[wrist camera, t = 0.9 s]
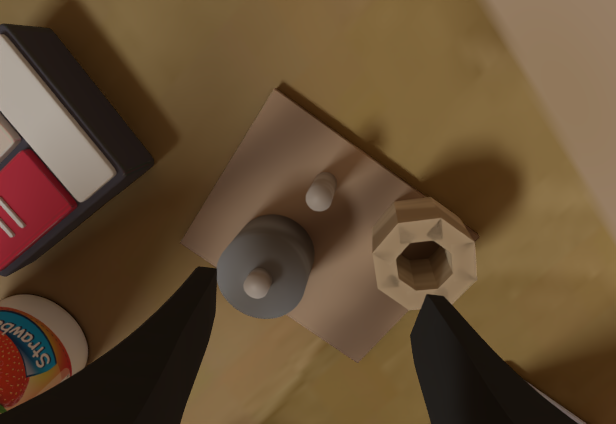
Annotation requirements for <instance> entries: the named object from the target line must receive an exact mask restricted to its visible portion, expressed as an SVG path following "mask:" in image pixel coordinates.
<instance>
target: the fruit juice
mask: <svg viewBox="0 0 616 424" xmlns="http://www.w3.org/2000/svg"><path fill="white" fill-rule="evenodd" d="M87 359H88V345H87V341H86V338H85V336H84V333H83V331H82V329H81V328H80V326H79V325H78V323H77V322H76V321H75V319H74V318H73V317H72V316H71V315H70V314H69V313H68V312H67V311H65V310H64V309H63V308H62V307H60V306H59V305H57V304H56V303H54V302H52V301H50V300H48V299H46V298H43V297H40V296H36V295H29V294H21V295H15V296H11V297H7V298H5V299H3V300H0V414H2V413H4V412H6V411H8V410H10V409H12V408H14V407H16V406H18V405H20V404H22V403H24V402H26V401H28V400H30V399H32V398H34V397H36V396H38V395H40V394H42V393H43V392H45V391H47V390H49V389H50V388H52V387H54V386H56V385H57V384H59V383H61V382H62V381H64V380H66V379H67V378H69V377H71V376H72V375H74V374H76V373H77V372H79V371H81V370H82V369H84V368H85V366H86V363H87Z"/></svg>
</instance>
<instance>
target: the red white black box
mask: <svg viewBox="0 0 616 424" xmlns="http://www.w3.org/2000/svg"><path fill="white" fill-rule="evenodd" d="M153 165H154V159H153V157H152V156H151V155H150V153H149V152H148V151H147V150H146V148H145V147H144V146H143V144H142V143H141V142H140V141H139V139H138V138H137V137H136V136H135V134H134V133H133V132H132V131H131V129H130V128H129V127H128V125H127V124H126V123H125V122H124V120H123V119H122V118H121V117H120V115H119V114H118V113H117V112H116V110H115V109H114V108H113V106H112V105H111V104H110V103H109V101H108V100H107V99H106V98H105V96H104V95H103V94H102V92H101V91H100V90H99V89H98V87H97V86H96V85H95V84H94V82H93V81H92V80H91V79H90V77H89V76H88V75H87V73H86V72H85V71H84V70H83V68H82V67H81V66H80V65H79V63H78V62H77V61H76V60H75V58H74V57H73V56H72V54H71V53H70V52H69V51H68V49H67V48H66V47H65V46H64V44H63V43H62V42H61V41H60V39H59V38H58V37H57V35H56V34H55V33H54V32H53V31H52V30H51V29H49V28H43V27H33V26H23V25H13V24H1V25H0V275H1V276H4V277H5V276H8V275H10V274H12V273H14V272H16V271H17V270H19V269H21V268H23V267H25V266H26V265H28V264H30V263H32V262H34V261H35V260H36V259H38V258H39V257H40V256H41V255H43V254H44V253H45V252H46V251H48V250H49V249H50V248H51V247H53V246H54V245H55V244H56V243H58V242H59V241H60V240H61V239H63V238H64V237H65V236H66V235H67V234H69V233H70V232H71V231H72V230H74V229H75V228H76V227H77V226H78V225H80V224H81V223H82V222H83V221H85V220H86V219H87V218H88V217H89V216H91V215H92V214H93V213H94V212H95V211H97V210H98V209H99V208H100V207H102V206H103V205H104V204H105V203H106V202H108V201H109V200H110V199H111V198H113V197H114V196H116V195H117V194H119V193H120V192H121V191H122V190H124V189H125V188H126V187H127V186H129V185H130V184H131V183H132V182H134V181H135V180H136V179H137V178H139V177H140V176H141V175H142V174H144V173H145V172H146V171H147V170H149V169H150V168H151V167H152V166H153Z"/></svg>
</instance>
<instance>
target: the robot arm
mask: <svg viewBox="0 0 616 424" xmlns="http://www.w3.org/2000/svg"><path fill="white" fill-rule="evenodd" d="M216 287H217V269H216V268H208V267H200V266H199V267H197V268H196V269H195V270H194V271H193V272H192V274H191V275H190V276H189V277H188V279H187V280H186V281H185V282H184V283H183V284H182V285H181V287H180V288H179V289H178V290H177V291H176V292H175V293H174V294H173V295H172V296H171V297H170V298H169V299H168V300H167V301H166V302H165V303H164V304H163V305H162V306H161V307H160V308H159V309H158V310H157V311H156V312H155V313H154V314H153V315H152V316H151V317H150V318H149V319H148V320H146V321H145V322H144V323H143V324H142V325H141V326H140V327H139V328H138V329H136V330H135V331H134V332H133V333H132V334H130V335H129V336H128V337H127V338H125V339H124V340H123V341H122V342H120V343H119V344H118V345H116V346H115V347H114V348H113V349H111V350H110V351H108V352H107V353H105V354H104V355H103V356H101V357H100V358H98V359H97V360H96V361H94V362H93V363H91V364H90V365H88V366H87V367H85V368H84V369H82V370H81V371H79V372H77V373H76V374H74V375H72V376H71V377H69V378H67V379H66V380H64V381H62V382H61V383H59V384H57V385H56V386H54V387H52V388H50V389H49V390H47V391H45V392H43V393H42V394H40V395H38V396H36V397H34V398H32V399H30V400H28V401H26V402H24V403H22V404H20V405H18V406H16V407H14V408H12V409H10V410H8V411H6V412H4V413H2V414H0V424H180V423H181V419H182V415H183V412H184V409H185V406H186V403H187V400H188V397H189V395H190V392H191V389H192V386H193V384H194V381H195V378H196V376H197V373H198V370H199V367H200V365H201V362H202V359H203V356H204V353H205V351H206V348H207V345H208V342H209V338H210V334H211V330H212V326H213V322H214V318H215V312H216ZM410 338H411V345H412V353H413V359H414V364H415V368H416V372H417V375H418V379H419V383H420V386H421V390H422V393H423V396H424V400H425V403H426V407H427V410H428V414H429V417H430V421H431V424H587V423H585V422H584V421H582V420H581V419H579V418H578V417H577V416H575V415H574V414H572V413H571V412H569V411H568V410H567V409H565V408H564V407H562V406H561V405H559V404H558V403H556V402H555V401H554V400H552V399H551V398H549V397H548V396H546V395H545V394H544V393H542V392H541V391H539V390H538V389H536V388H535V387H534V386H532V385H531V384H529V383H528V382H526V381H525V380H523V379H522V378H521V377H520V376H519V375H518V374H517V373H516V372H515V371H514V370H513V369H512V368H511V367H509V366H508V365H507V364H506V363H505V362H504V361H503V360H502V359H501V358H500V357H499V356H498V355H497V354H496V353H495V352H494V351H493V350H492V348H491V347H490V346H489V345H488V344H487V343H486V342H485V341H484V340H483V339H482V338H481V337H480V336H479V335H478V334H477V332H476V331H475V330H474V329H473V328H472V327H471V326H470V325H469V324H468V322H467V321H466V320H465V319H464V318H463V317H462V316H461V314H460V313H459V312H458V311H457V310H456V309H455V308H454V307H453V305H452V304H451V303H450V302H449V301H448V300H447V299H446V298H445V297H444V296H440V295H432V294H426V297H425V299H424V302H423V304H422V307H421V309H420V312H419V314H418V317H417V319H416V322H415V325H414V327H413V330H412V332H411V335H410Z"/></svg>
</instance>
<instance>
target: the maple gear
mask: <svg viewBox="0 0 616 424" xmlns="http://www.w3.org/2000/svg"><path fill="white" fill-rule="evenodd" d="M424 241H435V242H436V243H438V244H439V245H440V247H439V248H438V249H437V250H436V251H435V252H434V253H433V254H432V255H431V256H430V257H429V258H428V259H419V260H408V259H407V258H405V257H404V256H402V255H401V253H402V252H403V250H404V249H405V248H406V247H407V246H408V245H409V244H410V243H415V242H424ZM372 254H373V260H374V267H375V274H376V280H377V287H378V289H379V290H381V291H382V292H384V293H385V294H386V295H388V296H389V297H391V298H392V299H394V300H395V301H396V302H398V303H399V304H401V305H402V306H404V307H405V308H407V309H408V310H417V309H421V307H422V304H423V302H424V299H425V297H426V294H432V295H440V296H444V297H445V298H446V299H447V300H448V301H449V302H450V303H451V304H453V303H454V302H455V301H456V300H457V299H458V298H459V297H460V296H461V295H462V294H463V293H464V292H465V291H466V290H467V289H468V288H469V287H470V286H471V285H472V284H473V283H474V282H475V281H476V280H477V269H476V253H475V242H474V240H473V239H472V237H471V235H470V234H469V232H468V231H467V229H466V227H465V226H464V224H463V223H462V221H461V219H460V218H459V217H458V216H457V215H455V214H454V213H452V212H451V211H450V210H448V209H447V208H445V207H444V206H443V205H441V204H440V203H439V202H437V201H436V200H434V199H433V198H432V197H425V198H417V199H410V200H402V201H395V202H393V203H392V205H391V206H390V207H389V208H388V209H387V211H386V212H385V213H384V214H383V215H382V217H381V218H380V219H379V220H378V221H377V223H376V224H375V225H374V226H373V228H372Z"/></svg>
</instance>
